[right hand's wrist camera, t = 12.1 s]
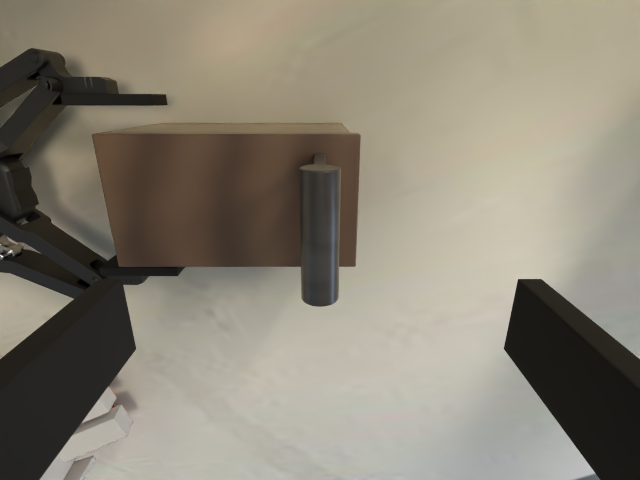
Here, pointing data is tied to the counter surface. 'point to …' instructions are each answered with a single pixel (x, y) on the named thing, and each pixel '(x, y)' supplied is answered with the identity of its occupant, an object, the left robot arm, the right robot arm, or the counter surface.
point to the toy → (90, 439)
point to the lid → (235, 202)
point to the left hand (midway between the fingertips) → (172, 189)
